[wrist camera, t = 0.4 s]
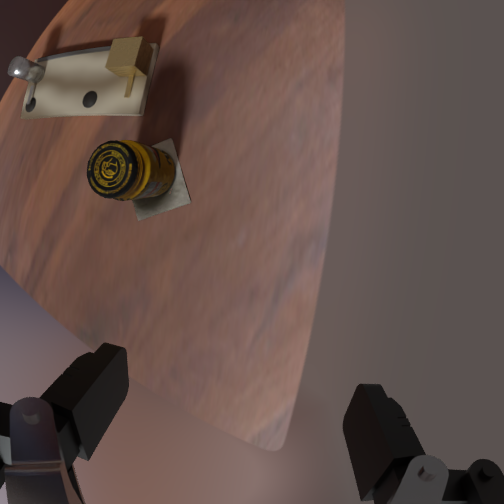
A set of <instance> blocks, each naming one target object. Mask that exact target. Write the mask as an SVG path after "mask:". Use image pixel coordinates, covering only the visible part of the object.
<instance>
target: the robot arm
mask: <svg viewBox="0 0 504 504" xmlns="http://www.w3.org/2000/svg"><path fill="white" fill-rule="evenodd" d="M128 387H129V378H128V365H127V352H126V349H125V348H123V347H120V346H116V345H113V344H109V343H103V344H102V345H101V346H100V347H99V348H98V349H97V350H96V352H95V353H91V352H88V353H86V354H84V355H82V356H80V357H78V358H77V359H76V360H75V361H74V362H73V363H72V364H71V365H70V367H68V368H67V369H66V370H65V371H64V373H63V374H61V375H60V376H59V377H58V378H57V379H56V381H55V382H54V383H53V384H52V385H51V386H50V387H49V388H48V389H47V390H46V391H45V392H44V393H43V394H42V396H41V397H40V398H36V397H26V398H23V399H20V400H18V401H17V402H15V403H14V404H13V405H11V404H7V403H2V402H0V489H1V487H2V485H3V484H4V482H6V490H7V498H8V504H85V501H84V498H83V495H82V492H81V488H80V485H79V482H78V479H77V475H76V472H75V468H74V465H73V462H74V461H75V459H76V457H77V456H78V457H80V458H82V459H85V460H87V461H89V459H90V458H91V456H92V454H93V452H94V451H95V449H96V447H97V445H98V444H99V442H100V440H101V439H102V437H103V435H104V433H105V432H106V430H107V428H108V427H109V425H110V423H111V422H112V420H113V418H114V416H115V415H116V413H117V411H118V410H119V408H120V406H121V405H122V403H123V401H124V400H125V398H126V396H127V392H128ZM343 432H344V436H345V440H346V444H347V448H348V451H349V455H350V459H351V463H352V467H353V471H354V475H355V479H356V483H357V487H358V491H359V495H360V499H361V501H369V500H374V503H375V504H504V475H503V473H502V471H501V470H500V468H499V467H498V466H497V465H496V464H495V463H494V462H492V461H490V460H487V459H479V460H477V461H475V462H474V463H473V464H472V465H471V466H470V467H469V468H468V470H449V469H448V468H447V466H446V465H445V464H444V463H443V462H442V461H441V460H440V459H438V458H436V457H434V456H431V455H426V454H425V452H424V450H423V448H422V446H421V444H420V442H419V440H418V438H417V436H416V434H415V432H414V430H413V428H412V427H410V422H409V421H408V419H406V415H405V413H404V411H403V409H402V407H401V406H400V405H399V404H398V403H397V402H396V401H395V400H393V399H392V398H388V397H387V395H386V393H385V391H384V390H383V388H382V386H381V385H380V384H359V385H358V386H357V388H356V390H355V392H354V395H353V397H352V399H351V402H350V404H349V406H348V409H347V411H346V414H345V416H344V420H343Z"/></svg>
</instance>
